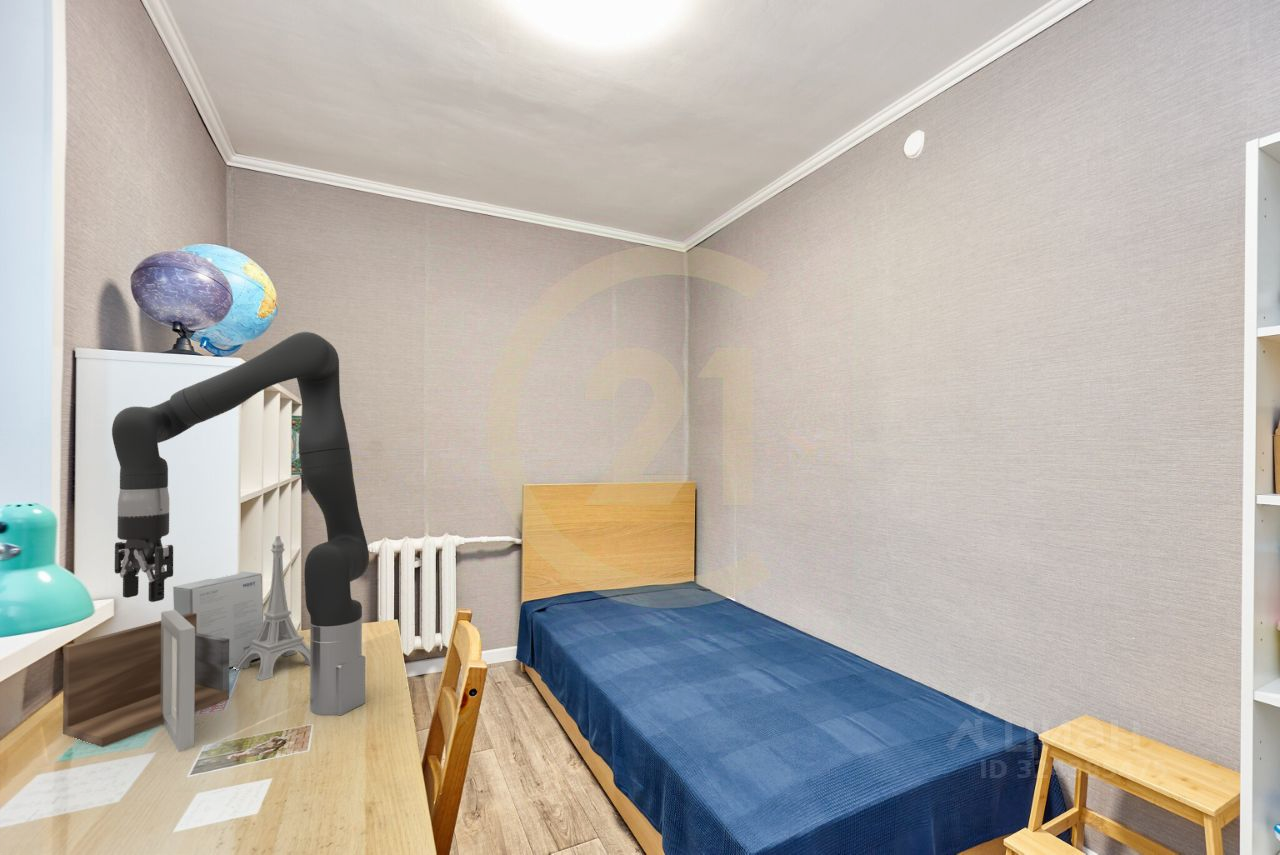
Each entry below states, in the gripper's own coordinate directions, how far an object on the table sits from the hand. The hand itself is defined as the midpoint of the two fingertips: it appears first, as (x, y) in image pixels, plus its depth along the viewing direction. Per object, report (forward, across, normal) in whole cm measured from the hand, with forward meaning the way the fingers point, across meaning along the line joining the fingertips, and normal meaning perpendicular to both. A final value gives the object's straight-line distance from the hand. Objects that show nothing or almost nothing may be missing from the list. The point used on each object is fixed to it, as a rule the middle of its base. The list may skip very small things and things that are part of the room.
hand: (143, 598), depth 112 cm
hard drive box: (+23, +12, -22) cm, 34 cm away
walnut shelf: (+22, -1, -1) cm, 22 cm away
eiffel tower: (+23, +1, -28) cm, 36 cm away
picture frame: (+23, -13, +1) cm, 26 cm away
